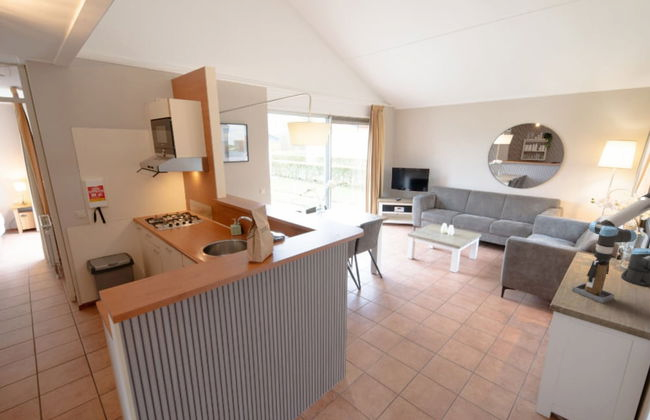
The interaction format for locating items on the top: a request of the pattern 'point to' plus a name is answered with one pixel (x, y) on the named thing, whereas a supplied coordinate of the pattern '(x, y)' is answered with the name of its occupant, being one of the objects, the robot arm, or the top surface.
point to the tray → (600, 298)
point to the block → (598, 280)
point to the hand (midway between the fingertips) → (594, 284)
